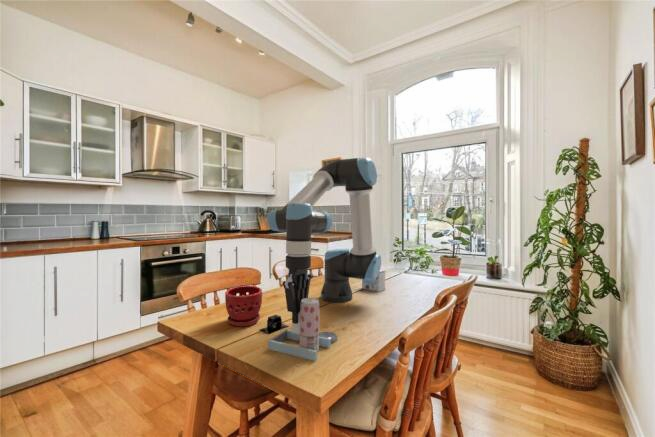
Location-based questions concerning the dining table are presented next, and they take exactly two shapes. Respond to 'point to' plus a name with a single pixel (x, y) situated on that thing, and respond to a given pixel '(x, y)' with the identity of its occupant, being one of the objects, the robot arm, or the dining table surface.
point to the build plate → (273, 324)
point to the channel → (295, 350)
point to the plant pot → (243, 305)
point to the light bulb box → (375, 282)
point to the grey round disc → (329, 336)
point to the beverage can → (309, 323)
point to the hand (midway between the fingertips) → (297, 332)
